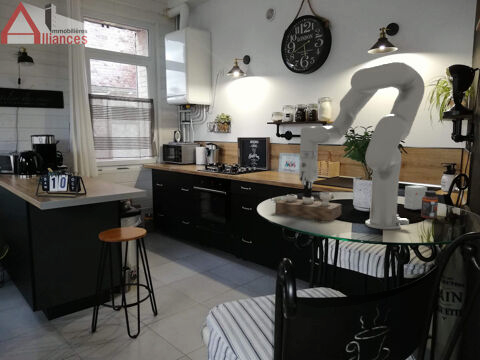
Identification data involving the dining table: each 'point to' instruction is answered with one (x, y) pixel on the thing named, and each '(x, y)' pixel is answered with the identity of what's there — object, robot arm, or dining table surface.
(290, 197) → the knob far
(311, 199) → the knob middle
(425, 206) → the supplement bottle
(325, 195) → the knob near
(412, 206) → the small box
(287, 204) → the knob mount
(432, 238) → the dining table surface
